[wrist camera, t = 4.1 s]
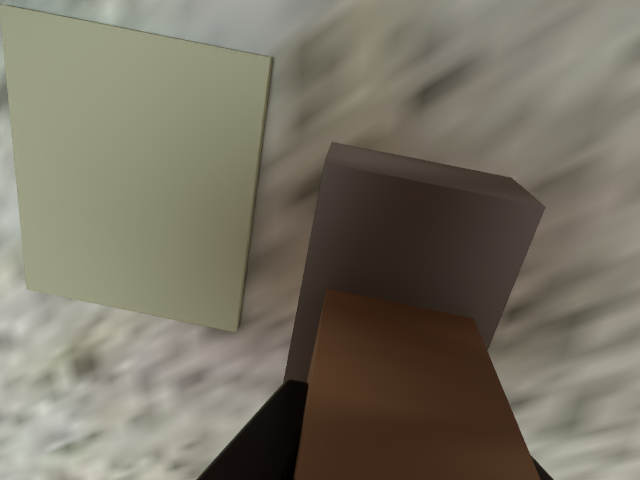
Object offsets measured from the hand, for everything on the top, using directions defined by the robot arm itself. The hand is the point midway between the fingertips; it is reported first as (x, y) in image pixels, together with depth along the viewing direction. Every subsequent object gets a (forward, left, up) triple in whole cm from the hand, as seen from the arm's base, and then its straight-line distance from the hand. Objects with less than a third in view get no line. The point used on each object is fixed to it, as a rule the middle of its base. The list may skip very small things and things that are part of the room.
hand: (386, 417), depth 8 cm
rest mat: (+10, +1, -11) cm, 15 cm away
